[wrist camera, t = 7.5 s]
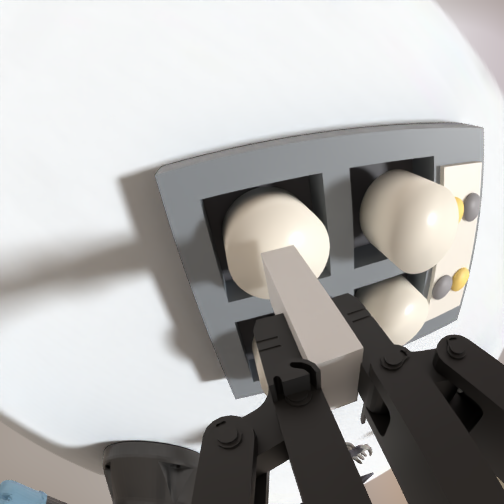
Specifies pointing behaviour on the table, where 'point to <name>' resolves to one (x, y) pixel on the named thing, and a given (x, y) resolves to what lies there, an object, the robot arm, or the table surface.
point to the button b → (270, 235)
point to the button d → (409, 219)
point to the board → (329, 213)
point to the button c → (395, 307)
